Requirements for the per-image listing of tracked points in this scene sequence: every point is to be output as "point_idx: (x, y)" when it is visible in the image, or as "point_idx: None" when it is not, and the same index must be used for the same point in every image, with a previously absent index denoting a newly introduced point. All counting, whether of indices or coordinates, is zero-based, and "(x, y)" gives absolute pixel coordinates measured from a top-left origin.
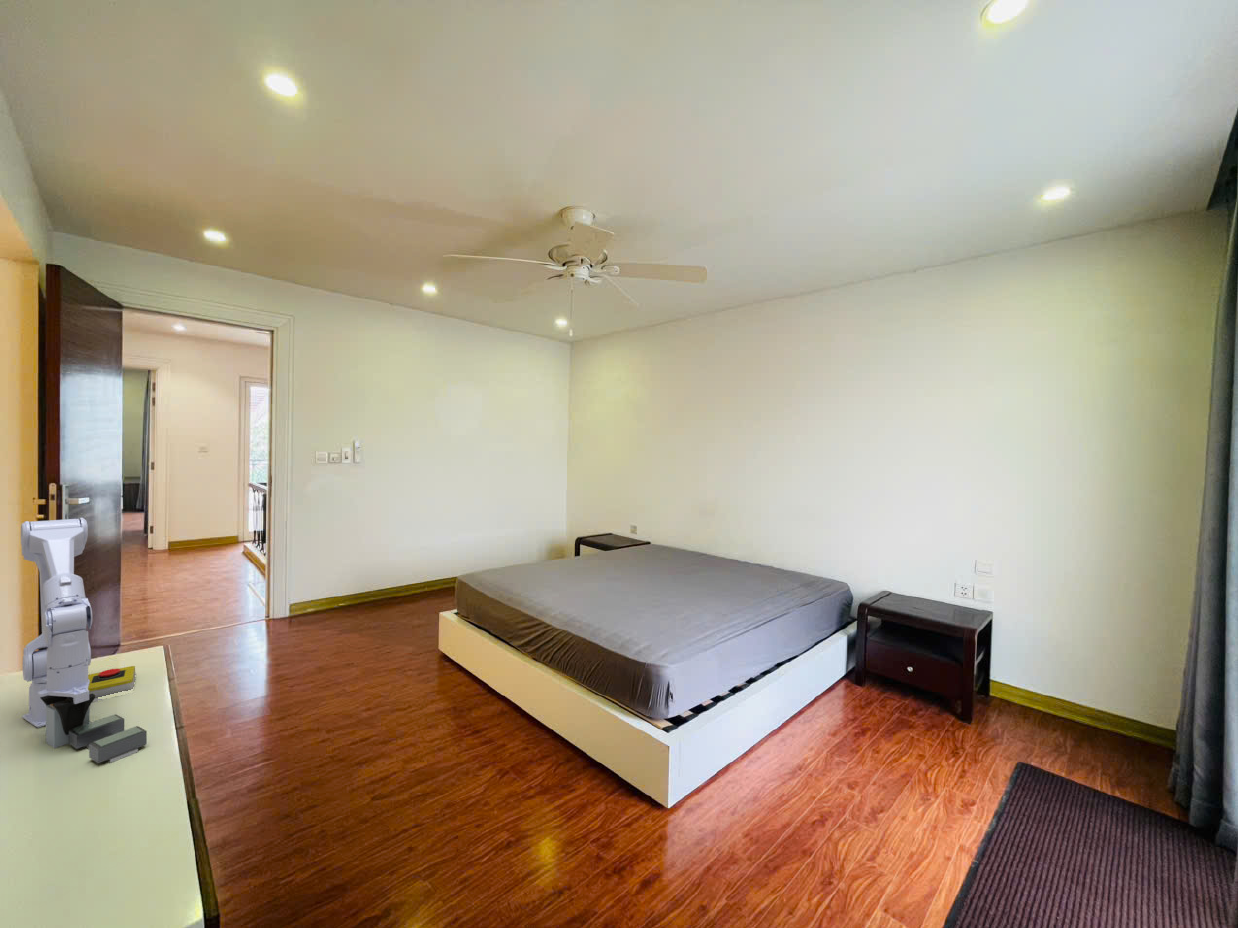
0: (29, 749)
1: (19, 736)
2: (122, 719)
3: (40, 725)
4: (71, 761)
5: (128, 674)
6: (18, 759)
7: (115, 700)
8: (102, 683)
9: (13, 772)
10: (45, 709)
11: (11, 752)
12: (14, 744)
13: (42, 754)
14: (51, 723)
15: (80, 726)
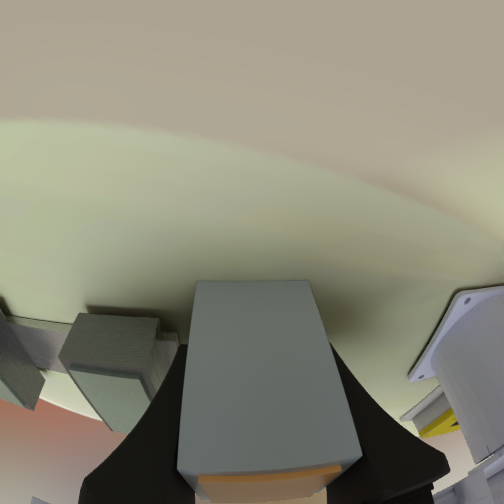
0: (299, 228)
1: (462, 245)
2: (110, 429)
3: (456, 301)
4: (24, 273)
5: (447, 430)
6: (215, 170)
7: (402, 405)
8: None
9: (71, 131)
10: (485, 344)
11: (348, 179)
12: (419, 214)
13: (171, 241)
14: (236, 378)
15: (140, 393)
